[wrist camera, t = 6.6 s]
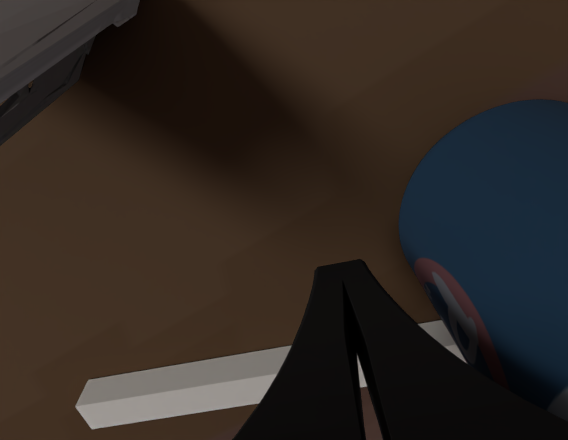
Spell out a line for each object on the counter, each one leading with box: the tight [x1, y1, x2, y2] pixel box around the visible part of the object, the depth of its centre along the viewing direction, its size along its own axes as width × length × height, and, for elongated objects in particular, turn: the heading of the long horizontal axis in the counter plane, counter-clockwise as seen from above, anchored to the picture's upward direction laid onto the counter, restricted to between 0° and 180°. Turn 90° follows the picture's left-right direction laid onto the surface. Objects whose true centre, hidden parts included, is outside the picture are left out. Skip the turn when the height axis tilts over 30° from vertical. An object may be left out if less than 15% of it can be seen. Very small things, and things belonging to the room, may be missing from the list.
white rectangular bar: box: [75, 320, 466, 429], centre depth 17 cm, size 3×23×3 cm, turn 103°
